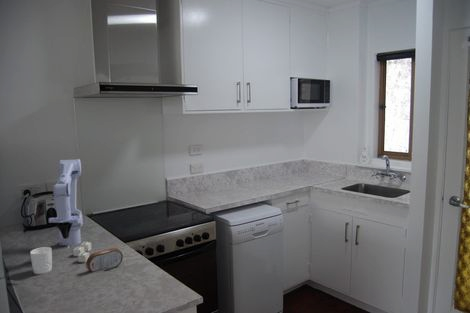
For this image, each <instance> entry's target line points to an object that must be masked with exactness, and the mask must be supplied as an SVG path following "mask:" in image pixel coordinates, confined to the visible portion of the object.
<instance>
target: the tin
mask: <svg viewBox="0 0 470 313" xmlns="http://www.w3.org/2000/svg"><path fill="white" fill-rule="evenodd" d="M123 259H124V258H123V253H122V251H121V250H120V249H119V248H117V247H116V248H115V247H112V248H108V249H104V250H100V251H95V252H93V253H91V254H89V258H88V259H87V262H85V265H86V268H87V269H88V271H89V272H91V273H94V272H97V271H100V270H103V269H104V270H103V272H105V271H109V270H112V269H115V268H117V267H119V266H120V265H121V263H122V262H123Z"/></svg>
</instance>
